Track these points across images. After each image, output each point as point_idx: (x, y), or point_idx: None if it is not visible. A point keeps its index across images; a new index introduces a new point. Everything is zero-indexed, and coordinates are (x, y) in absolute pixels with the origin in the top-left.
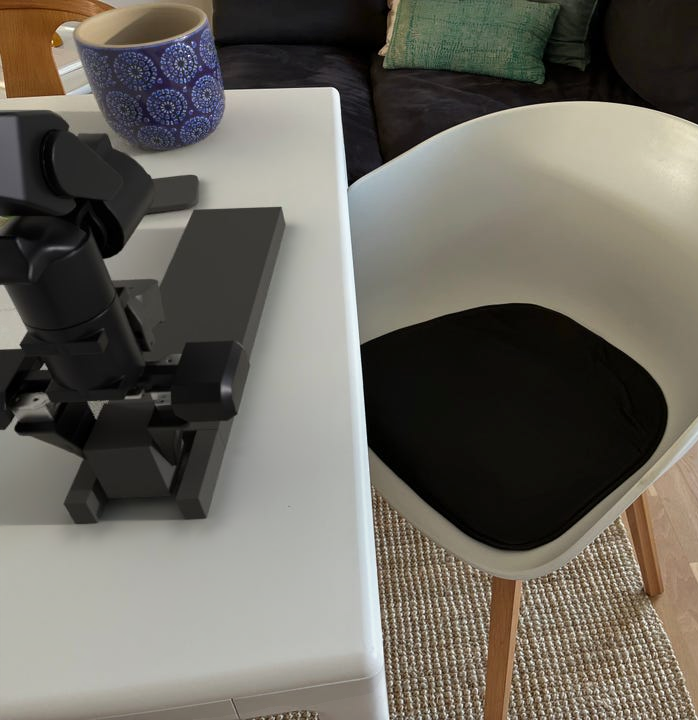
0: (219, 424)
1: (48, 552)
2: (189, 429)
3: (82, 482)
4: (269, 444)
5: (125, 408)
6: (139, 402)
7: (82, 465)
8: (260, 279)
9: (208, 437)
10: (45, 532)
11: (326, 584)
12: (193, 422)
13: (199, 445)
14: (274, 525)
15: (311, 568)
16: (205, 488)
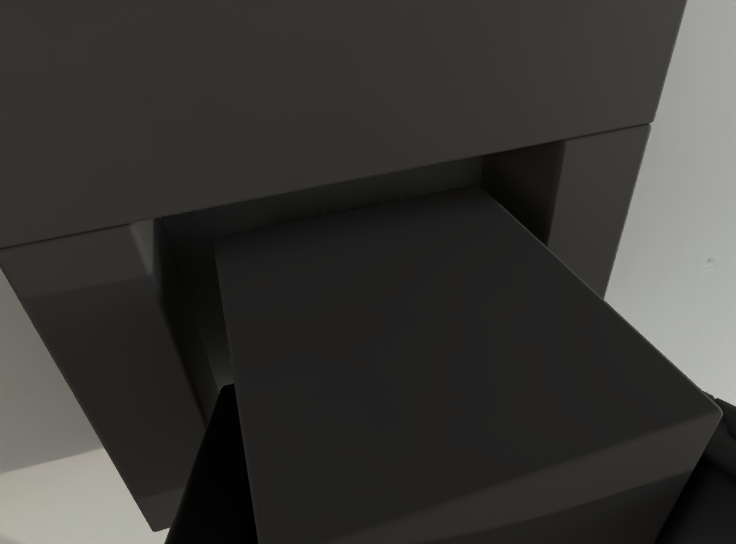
0: (660, 91)
1: (136, 504)
2: (529, 142)
3: (163, 465)
4: (713, 36)
5: (462, 540)
6: (547, 475)
7: (100, 417)
8: None
9: (612, 179)
10: (73, 475)
11: (725, 387)
12: (544, 90)
13: (575, 225)
14: (668, 312)
15: (711, 371)
16: None
